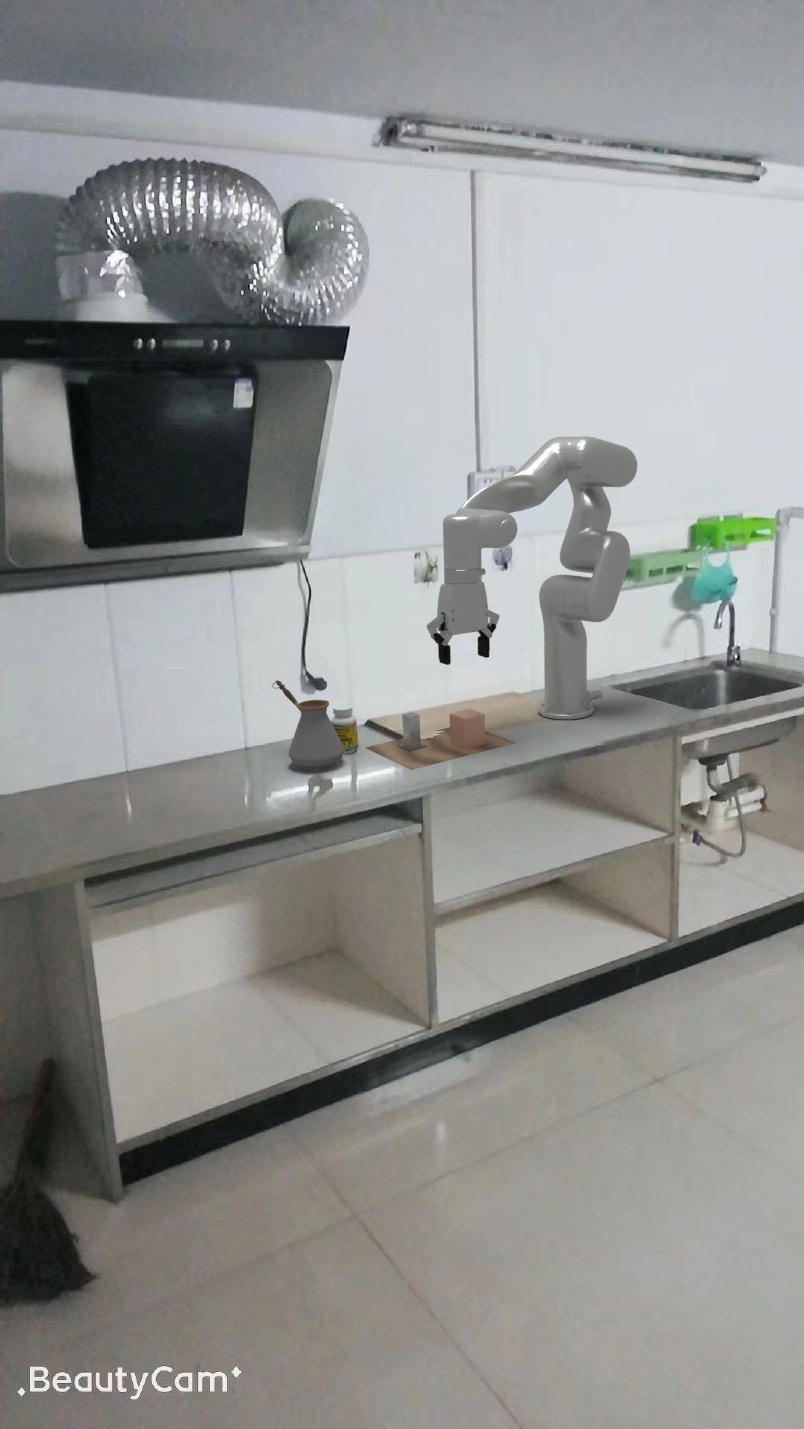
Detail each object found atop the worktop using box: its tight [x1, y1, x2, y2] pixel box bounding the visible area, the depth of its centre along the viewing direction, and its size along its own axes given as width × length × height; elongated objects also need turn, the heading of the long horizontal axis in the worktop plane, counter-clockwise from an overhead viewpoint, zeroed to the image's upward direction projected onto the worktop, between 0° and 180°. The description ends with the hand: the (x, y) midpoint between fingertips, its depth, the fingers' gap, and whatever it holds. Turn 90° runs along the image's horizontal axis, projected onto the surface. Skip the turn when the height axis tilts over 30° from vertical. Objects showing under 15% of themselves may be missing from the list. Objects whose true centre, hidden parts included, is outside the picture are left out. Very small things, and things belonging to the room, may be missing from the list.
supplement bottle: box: [330, 704, 359, 755], centre depth 221 cm, size 5×5×10 cm
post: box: [398, 711, 427, 751], centre depth 219 cm, size 4×4×7 cm
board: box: [365, 726, 516, 771], centre depth 221 cm, size 26×18×1 cm
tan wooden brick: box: [449, 708, 486, 749], centre depth 220 cm, size 5×5×7 cm
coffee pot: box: [271, 680, 345, 771], centre depth 217 cm, size 21×12×15 cm, turn 34°
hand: (464, 660), depth 215 cm, fingers open, 9 cm apart
